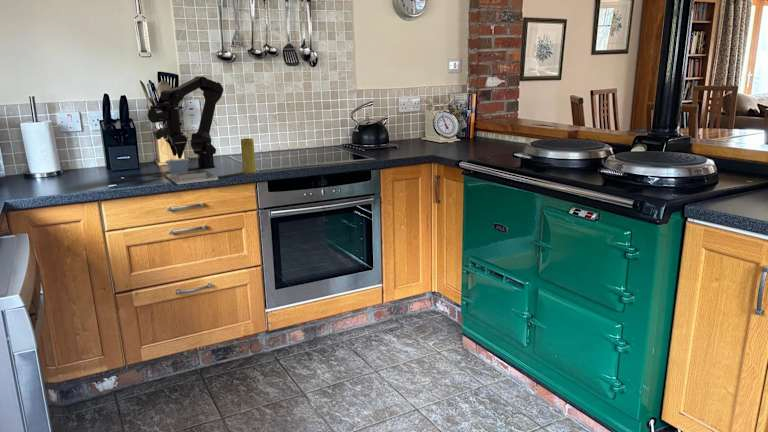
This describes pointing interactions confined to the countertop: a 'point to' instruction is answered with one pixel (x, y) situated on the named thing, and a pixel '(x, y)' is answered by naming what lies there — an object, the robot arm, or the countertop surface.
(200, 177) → the chassis plate
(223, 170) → the countertop surface
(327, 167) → the countertop surface
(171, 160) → the block
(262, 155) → the countertop surface
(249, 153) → the vase
